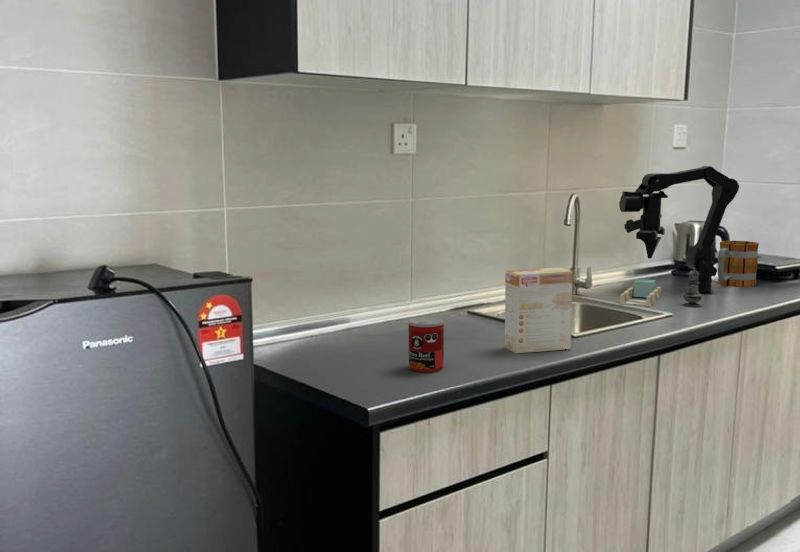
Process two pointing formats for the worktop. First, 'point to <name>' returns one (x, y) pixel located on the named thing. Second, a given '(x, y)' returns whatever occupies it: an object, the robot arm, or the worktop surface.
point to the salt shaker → (692, 290)
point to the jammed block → (643, 287)
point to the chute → (650, 299)
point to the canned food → (426, 344)
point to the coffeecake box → (538, 309)
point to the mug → (737, 263)
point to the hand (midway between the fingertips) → (649, 258)
